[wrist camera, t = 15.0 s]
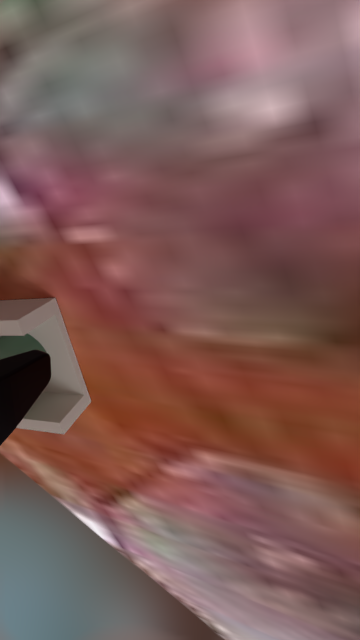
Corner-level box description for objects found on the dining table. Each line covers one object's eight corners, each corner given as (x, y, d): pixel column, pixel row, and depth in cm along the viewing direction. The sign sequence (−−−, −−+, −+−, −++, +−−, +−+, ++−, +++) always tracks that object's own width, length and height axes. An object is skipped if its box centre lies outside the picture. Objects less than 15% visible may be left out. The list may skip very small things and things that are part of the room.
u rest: (55, 297, 25) (17, 320, 22) (91, 401, 29) (64, 434, 26) (-36, 302, 28) (-81, 322, 25) (8, 394, 33) (-25, 422, 29)
